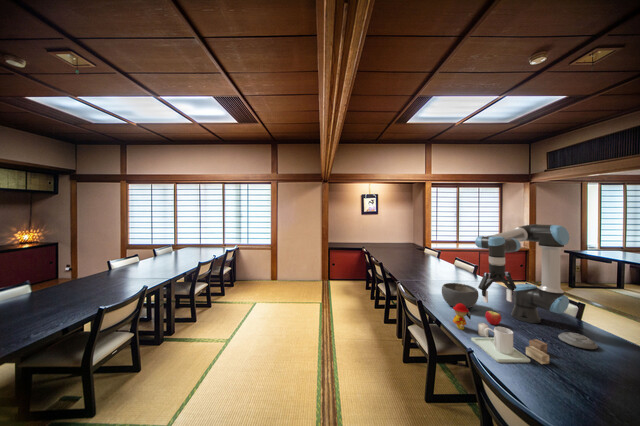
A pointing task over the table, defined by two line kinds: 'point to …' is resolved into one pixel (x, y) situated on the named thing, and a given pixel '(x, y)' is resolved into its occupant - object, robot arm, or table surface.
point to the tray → (498, 356)
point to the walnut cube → (538, 345)
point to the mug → (502, 339)
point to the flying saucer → (577, 340)
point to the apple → (493, 317)
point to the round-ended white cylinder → (482, 329)
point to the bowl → (459, 294)
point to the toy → (461, 315)
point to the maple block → (537, 355)
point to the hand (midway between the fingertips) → (497, 301)
